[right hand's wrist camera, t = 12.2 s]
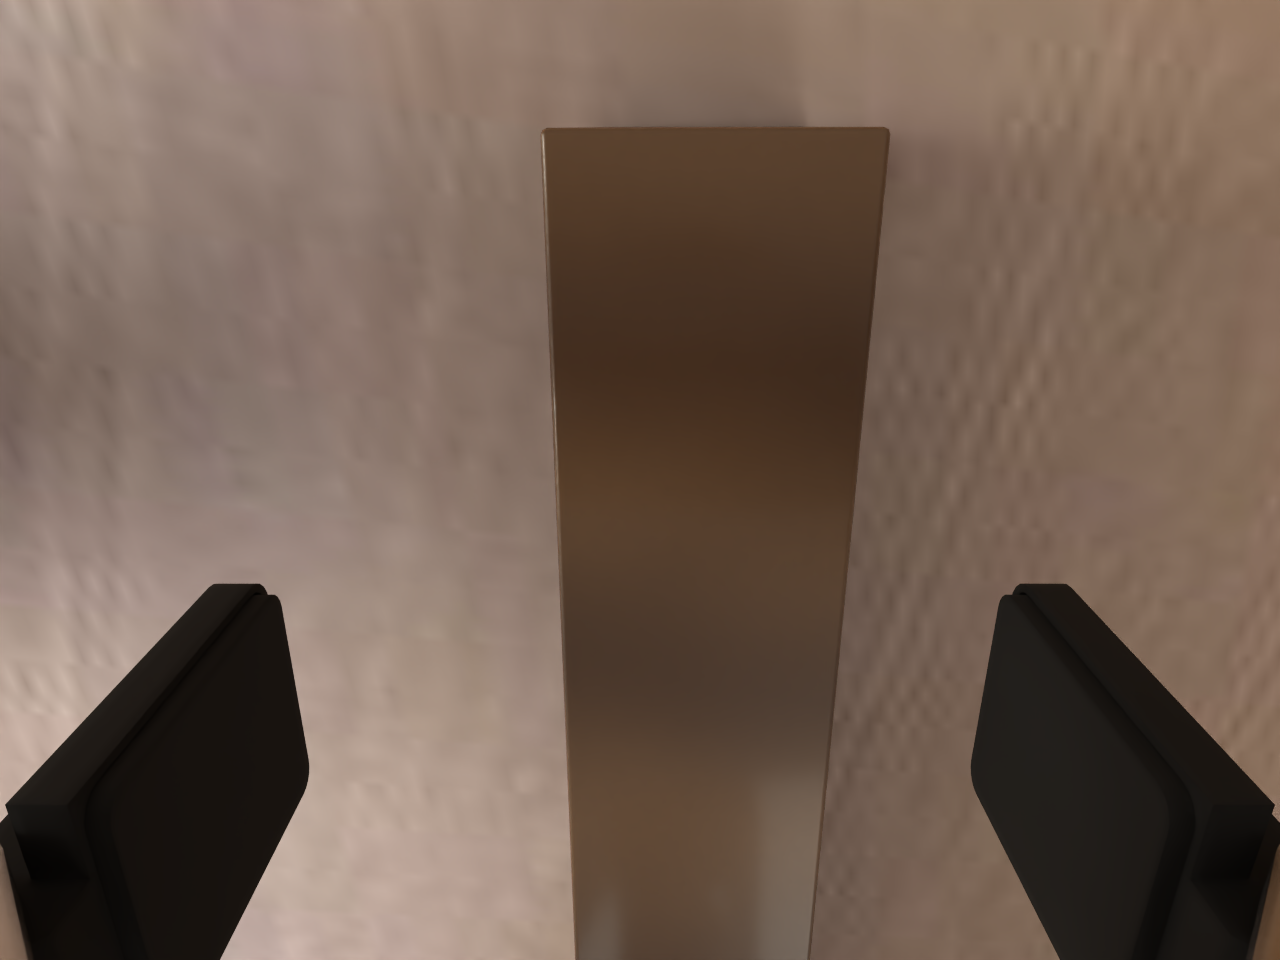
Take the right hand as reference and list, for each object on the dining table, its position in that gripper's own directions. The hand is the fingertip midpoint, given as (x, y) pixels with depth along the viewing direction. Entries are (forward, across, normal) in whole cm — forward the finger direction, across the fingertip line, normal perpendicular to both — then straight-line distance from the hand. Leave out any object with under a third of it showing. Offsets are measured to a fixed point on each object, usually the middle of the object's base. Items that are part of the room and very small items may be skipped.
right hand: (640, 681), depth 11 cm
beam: (+10, +1, -21) cm, 23 cm away
